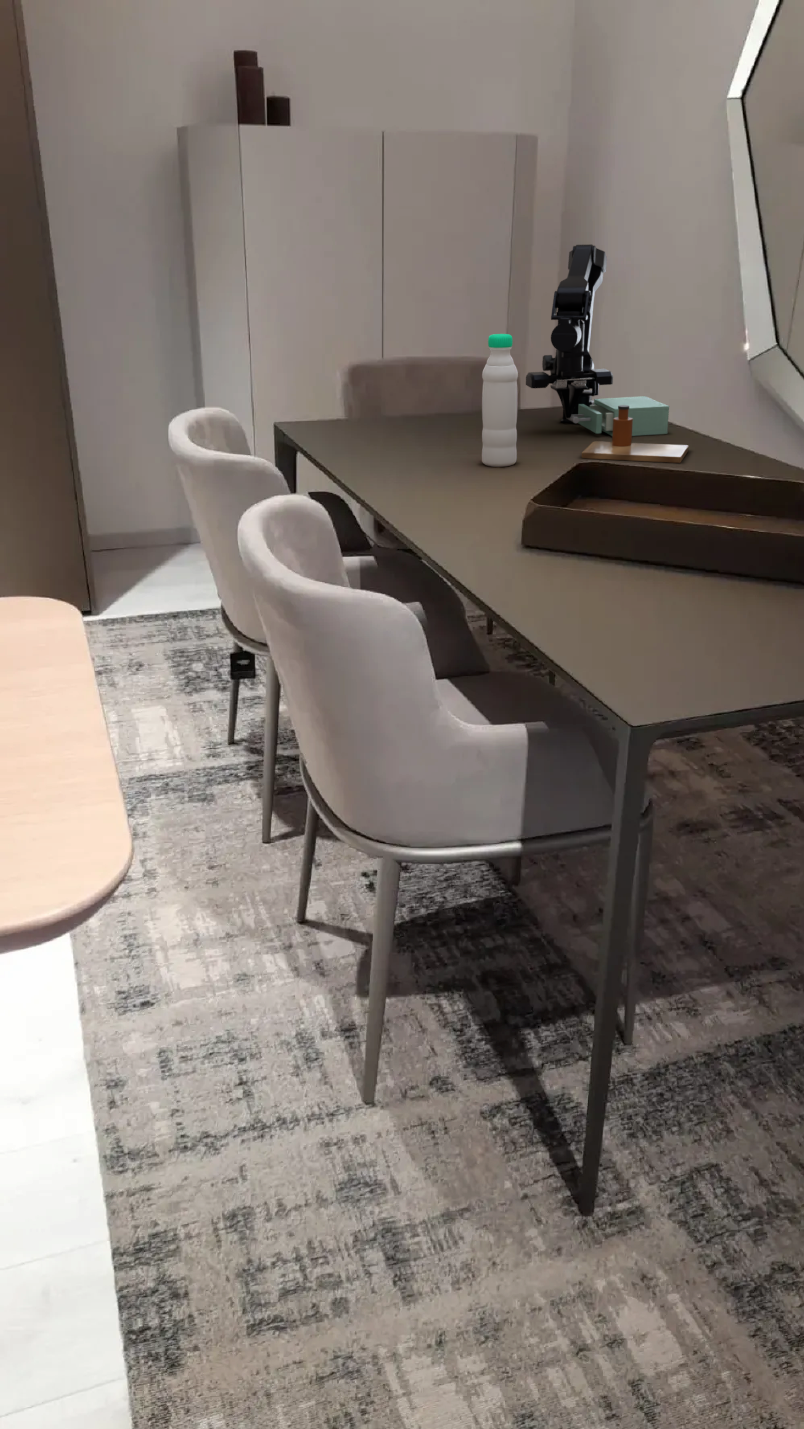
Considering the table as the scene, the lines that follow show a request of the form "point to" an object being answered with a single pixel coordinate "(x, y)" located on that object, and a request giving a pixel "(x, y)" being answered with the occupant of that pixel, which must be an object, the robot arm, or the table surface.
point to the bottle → (622, 428)
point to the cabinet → (640, 414)
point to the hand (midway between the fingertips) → (567, 417)
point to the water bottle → (499, 404)
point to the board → (636, 452)
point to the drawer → (594, 418)
